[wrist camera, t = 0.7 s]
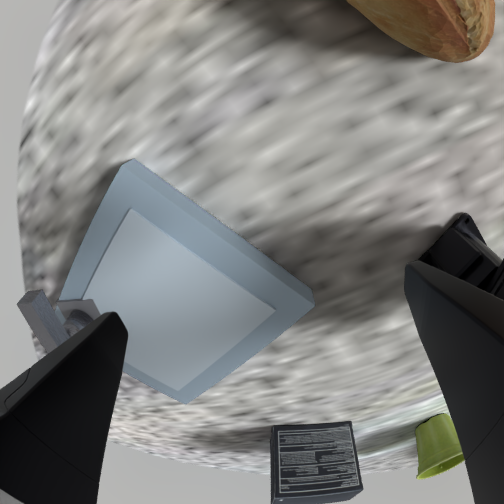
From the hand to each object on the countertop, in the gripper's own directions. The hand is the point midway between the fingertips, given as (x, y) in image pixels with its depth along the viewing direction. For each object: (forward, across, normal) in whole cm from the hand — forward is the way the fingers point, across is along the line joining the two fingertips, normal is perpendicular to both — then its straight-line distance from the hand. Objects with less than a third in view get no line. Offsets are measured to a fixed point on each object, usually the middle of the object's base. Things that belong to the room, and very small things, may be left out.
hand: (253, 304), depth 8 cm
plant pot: (+13, -19, +41) cm, 47 cm away
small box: (+13, +1, +33) cm, 36 cm away
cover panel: (+12, +10, +8) cm, 17 cm away
